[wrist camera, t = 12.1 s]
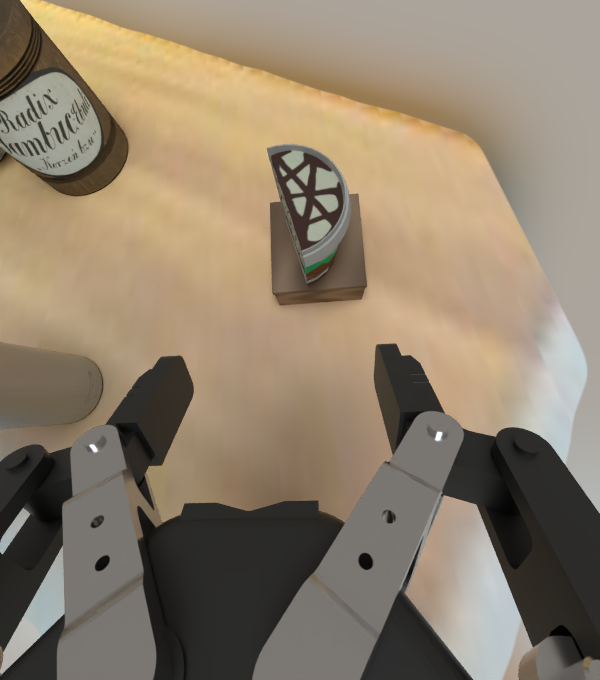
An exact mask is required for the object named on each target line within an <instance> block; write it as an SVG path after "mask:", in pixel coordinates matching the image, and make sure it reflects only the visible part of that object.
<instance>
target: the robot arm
mask: <svg viewBox="0 0 600 680" xmlns="http://www.w3.org/2000/svg"><path fill="white" fill-rule="evenodd" d="M374 383H375V389H376V393H377V397H378V401H379V405H380V408H381V412H382V416H383V420H384V424H385V427H386V431H387V435H388V439H389V442H390V446H391V450H392V454H393V457H392V458H391V460H390V461H389V462H386V461H385V462H384V463H383V464H382V465H381V466H380V467H379V469H378V471H377V472H376V474H375V476H374V477H373V479H372V480H371V482H370V484H369V485H368V487H367V488H366V490H365V492H364V493H363V495H362V497H361V498H360V500H359V501H358V503H357V505H356V506H355V508H354V510H353V511H352V513H351V514H350V516H349V518H348V519H347V521H346V523H344V522H343V521H341V520H340V519H338V518H336V517H334V516H332V515H330V514H327V513H324V512H321V511H319V504H318V501H284V502H281V503H277V504H274V505H270V506H267V507H263V508H260V509H256V510H253V511H244V510H241V509H237V508H233V507H230V506H226V505H223V504H219V503H187V504H184V507H183V510H182V513H181V515H180V516H177V517H174V518H172V519H170V520H168V521H166V522H164V523H163V522H162V520H161V517H160V515H159V511H158V508H157V505H156V502H155V498H154V495H153V492H152V488H151V485H150V482H149V479H148V476H147V474H146V471H147V469H148V467H149V466H161V465H162V464H163V462H164V459H165V457H166V455H167V453H168V450H169V448H170V446H171V444H172V442H173V439H174V437H175V435H176V433H177V431H178V428H179V426H180V424H181V422H182V420H183V417H184V415H185V413H186V411H187V408H188V406H189V404H190V402H191V400H192V397H193V393H194V387H193V382H192V380H191V377H190V375H189V372H188V369H187V367H186V364H185V362H184V359H183V358H182V357H181V356H166V357H161V358H160V359H159V360H158V361H157V363H156V364H155V366H154V367H153V369H149V370H148V371H147V372H146V373H144V374H143V375H142V376H141V377H139V378H138V380H137V381H136V383H135V384H134V385H133V387H132V389H131V390H130V391H129V392H128V394H127V397H125V398H124V399H123V401H122V402H121V404H120V405H119V406H118V408H117V409H116V411H115V412H114V413H113V415H112V416H111V418H110V419H109V420H108V422H107V423H106V424H105V425H102V426H98V427H96V428H93V429H91V430H89V431H87V432H86V433H84V434H83V435H82V436H81V437H79V438H78V439H77V440H76V442H75V443H74V444H73V446H72V447H70V448H66V449H63V450H59V451H56V452H53V453H48V452H47V451H46V449H45V448H44V447H43V446H41V445H29V446H26V447H23V448H20V449H18V450H16V451H15V452H13V453H11V454H10V455H8V456H7V457H5V458H4V459H3V460H2V461H1V462H0V541H1V538H2V536H3V535H4V533H5V532H6V530H7V529H8V528H9V526H10V525H11V523H12V522H13V521H14V519H15V518H16V517H17V515H18V514H19V512H20V511H21V510H22V508H24V509H26V510H27V511H28V512H29V513H30V516H29V517H28V519H27V520H26V522H25V523H24V525H23V526H22V527H21V529H20V530H19V532H18V533H17V535H16V536H15V538H14V539H13V540H12V542H11V543H10V545H9V546H8V548H7V549H6V551H5V552H4V554H3V555H2V554H1V553H0V669H1V666H2V661H3V652H4V650H5V648H6V646H7V644H8V643H9V641H10V639H11V637H12V635H13V633H14V632H15V630H16V628H17V626H18V625H19V623H20V621H21V619H22V617H23V616H24V614H25V612H26V610H27V608H28V607H29V605H30V603H31V601H32V599H33V598H34V596H35V594H36V592H37V591H38V589H39V587H40V585H41V583H42V582H43V580H44V578H45V576H46V574H47V573H48V571H49V569H50V567H51V565H52V564H53V562H54V560H55V558H56V556H57V555H58V553H59V551H60V549H61V547H62V546H63V559H64V598H65V614H64V615H63V616H62V617H61V618H60V619H59V620H58V621H57V622H56V623H55V624H54V625H52V626H51V627H50V628H49V629H48V630H47V631H46V632H45V633H44V634H43V635H42V636H41V637H40V638H39V639H38V640H37V641H36V642H35V643H34V644H33V645H32V646H31V647H30V648H29V649H28V650H27V651H26V652H25V653H24V654H23V655H22V656H21V657H19V658H18V659H17V660H16V661H15V662H14V663H13V664H12V665H11V666H10V667H9V668H8V669H7V670H6V671H5V672H4V673H3V674H1V673H0V680H473V679H472V678H471V676H470V675H469V674H468V673H467V671H466V670H465V669H464V667H463V666H462V665H461V664H460V662H459V661H458V660H457V659H456V657H455V656H454V655H453V654H452V652H451V651H450V650H449V649H448V647H447V646H446V645H445V644H444V642H443V641H442V640H441V639H440V637H439V636H438V635H437V634H436V632H435V631H434V630H433V628H432V627H431V626H430V625H429V623H428V622H427V621H426V620H425V618H424V617H423V616H422V615H421V613H420V612H419V611H418V610H417V608H416V607H415V606H414V605H413V603H412V602H411V601H410V600H409V598H408V597H407V596H406V594H405V593H406V591H407V588H408V586H409V583H410V581H411V579H412V576H413V574H414V571H415V569H416V566H417V563H418V561H419V558H420V556H421V553H422V550H423V547H424V545H425V542H426V540H427V537H428V535H429V532H430V530H431V527H432V525H433V522H434V520H435V517H436V515H437V512H438V510H439V507H440V505H441V502H442V500H443V497H444V495H446V496H449V497H453V498H456V499H460V500H463V501H467V502H470V503H474V504H477V507H478V509H479V512H480V514H481V517H482V519H483V522H484V524H485V527H486V530H487V532H488V535H489V537H490V540H491V542H492V545H493V547H494V550H495V552H496V555H497V557H498V560H499V562H500V565H501V568H502V570H503V573H504V575H505V578H506V580H507V583H508V585H509V588H510V590H511V593H512V595H513V598H514V600H515V603H516V606H517V608H518V611H519V613H520V616H521V618H522V621H523V623H524V626H525V628H526V631H527V633H528V636H529V638H530V641H531V644H532V646H533V648H532V649H531V650H530V651H528V652H527V653H526V654H525V655H524V656H523V657H522V659H521V661H520V664H519V670H518V671H519V673H518V677H519V680H600V513H599V512H598V511H597V509H596V508H595V506H594V505H593V504H592V502H591V501H590V499H589V498H588V497H587V496H586V494H585V493H584V491H583V490H582V488H581V487H580V485H579V484H578V483H577V481H576V480H575V478H574V477H573V476H572V474H571V473H570V472H569V470H568V468H567V467H566V466H565V464H564V463H563V461H562V460H561V459H560V457H559V456H558V454H557V453H556V452H555V450H554V449H553V448H552V446H551V445H550V444H549V443H548V442H547V441H546V440H544V439H543V438H542V437H540V436H539V435H537V434H535V433H533V432H531V431H528V430H525V429H521V428H514V427H512V428H505V429H502V430H501V431H499V432H498V434H497V436H496V437H494V436H489V435H485V434H480V433H475V432H471V431H468V430H465V429H463V428H462V427H461V425H460V424H459V423H458V422H457V421H456V420H455V419H454V418H452V417H451V416H449V415H447V414H445V413H444V411H443V409H442V407H441V405H440V403H439V400H438V398H437V396H436V394H435V392H434V390H433V388H432V386H431V384H430V383H429V380H428V378H427V376H426V375H425V372H424V370H423V368H422V366H421V364H420V363H419V362H418V361H417V360H416V359H414V358H413V357H412V356H411V355H407V356H401V353H400V351H399V349H398V346H397V344H378V345H376V350H375V367H374ZM101 391H102V377H101V373H100V371H99V369H98V367H97V366H96V365H95V364H94V363H93V362H92V361H91V360H89V359H87V358H85V357H81V356H75V355H69V354H64V353H58V352H53V351H48V350H42V349H36V348H30V347H24V346H19V345H13V344H7V343H1V342H0V429H10V428H21V427H32V426H45V425H56V424H67V423H73V422H77V421H79V420H81V419H83V418H84V417H86V416H87V415H88V414H89V413H90V412H91V411H92V410H93V409H94V408H95V406H96V404H97V403H98V401H99V398H100V396H101Z"/></svg>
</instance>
